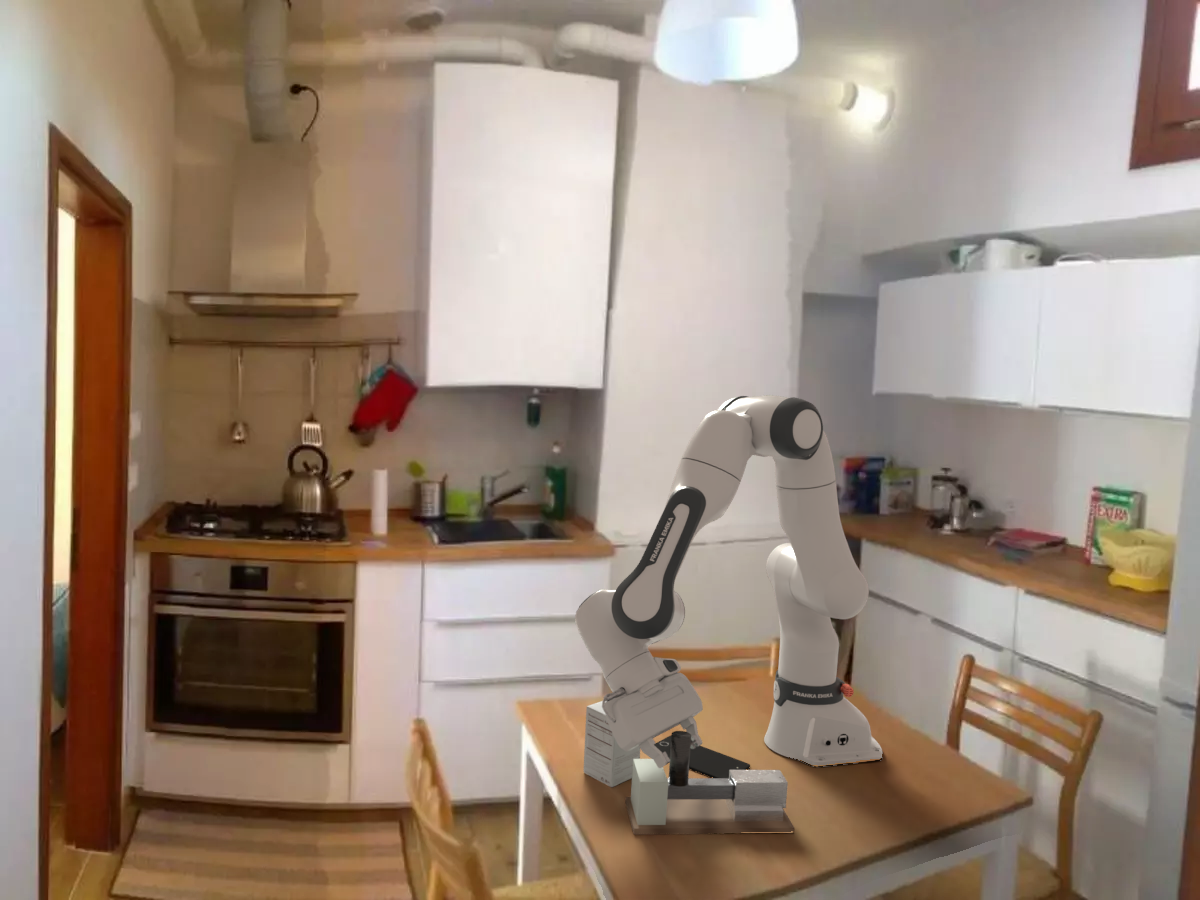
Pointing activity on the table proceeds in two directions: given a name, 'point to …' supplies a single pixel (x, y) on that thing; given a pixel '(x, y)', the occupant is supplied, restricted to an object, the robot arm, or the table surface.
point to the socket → (649, 792)
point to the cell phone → (707, 760)
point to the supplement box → (605, 750)
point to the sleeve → (758, 795)
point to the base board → (704, 819)
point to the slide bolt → (692, 787)
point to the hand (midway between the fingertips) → (681, 755)
